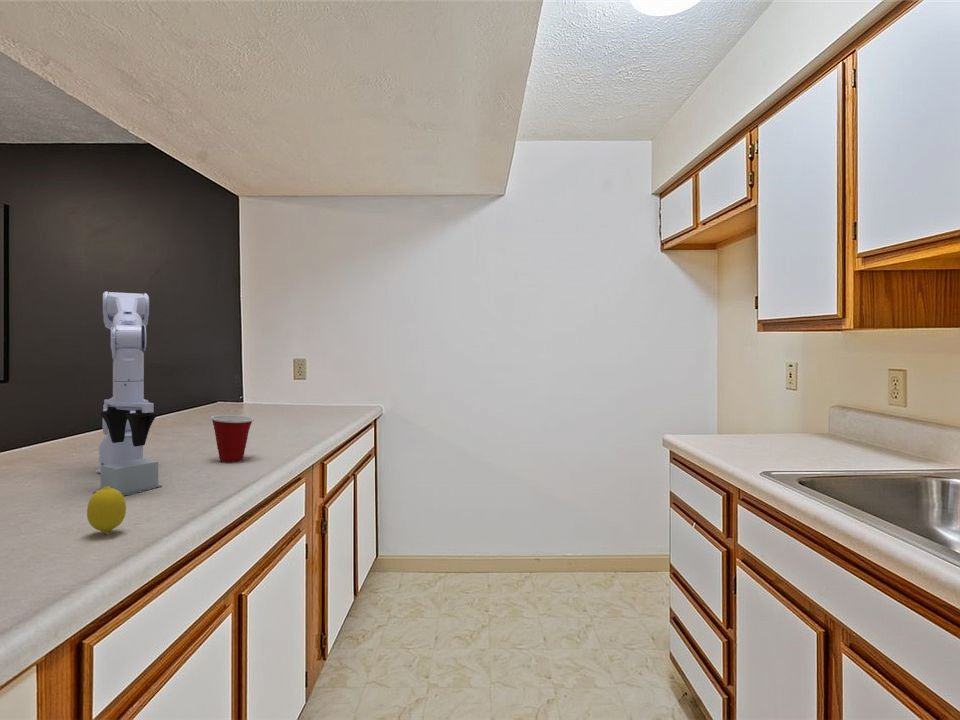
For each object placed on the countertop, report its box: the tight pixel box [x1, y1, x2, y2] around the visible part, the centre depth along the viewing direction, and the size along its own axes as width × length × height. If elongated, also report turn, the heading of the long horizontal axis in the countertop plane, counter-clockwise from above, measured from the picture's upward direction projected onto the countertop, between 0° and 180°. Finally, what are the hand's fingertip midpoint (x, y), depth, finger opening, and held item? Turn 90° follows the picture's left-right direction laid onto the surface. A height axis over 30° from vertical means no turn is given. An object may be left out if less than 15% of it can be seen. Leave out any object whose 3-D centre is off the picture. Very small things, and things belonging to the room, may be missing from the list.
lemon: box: [86, 486, 127, 535], centre depth 100 cm, size 6×6×8 cm
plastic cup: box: [210, 414, 255, 463], centre depth 162 cm, size 11×11×12 cm
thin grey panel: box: [93, 484, 161, 497], centre depth 129 cm, size 8×10×1 cm
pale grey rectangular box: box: [100, 458, 159, 494], centre depth 129 cm, size 6×9×6 cm, turn 152°
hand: (128, 444), depth 129 cm, fingers open, 7 cm apart
